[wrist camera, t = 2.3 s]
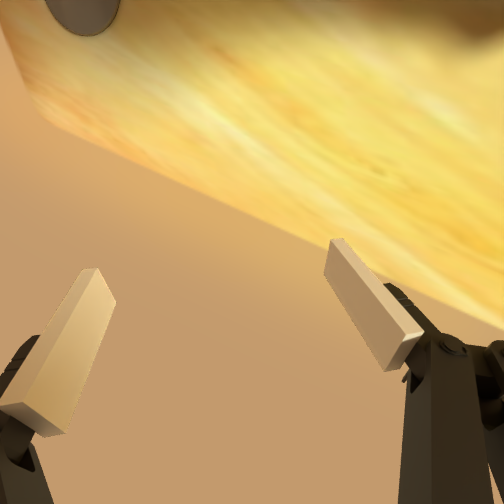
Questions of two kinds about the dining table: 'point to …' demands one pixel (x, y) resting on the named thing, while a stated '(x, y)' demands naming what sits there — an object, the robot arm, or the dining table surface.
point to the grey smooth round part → (84, 14)
